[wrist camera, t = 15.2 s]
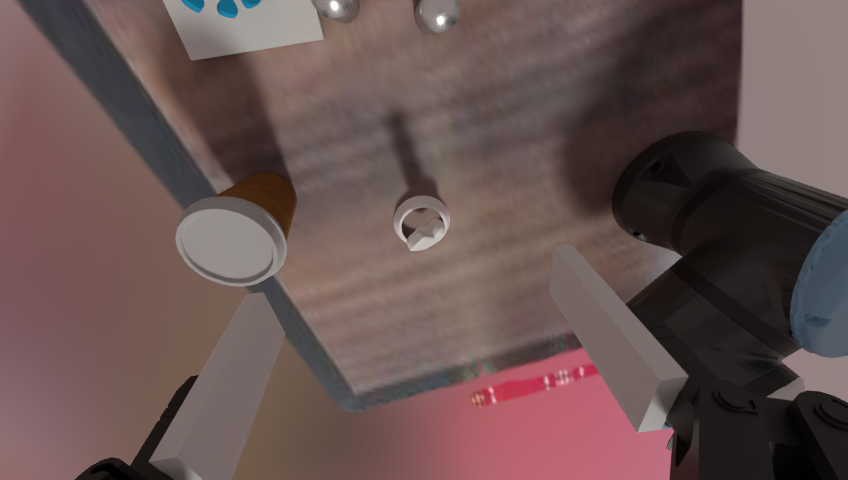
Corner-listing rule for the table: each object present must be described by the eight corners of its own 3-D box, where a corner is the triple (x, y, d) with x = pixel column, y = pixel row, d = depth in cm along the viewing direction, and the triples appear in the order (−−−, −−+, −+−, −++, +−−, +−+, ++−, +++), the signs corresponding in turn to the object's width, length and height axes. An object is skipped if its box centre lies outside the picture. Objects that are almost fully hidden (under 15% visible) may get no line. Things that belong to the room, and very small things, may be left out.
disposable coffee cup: (309, 233, 42) (284, 294, 32) (232, 224, 41) (180, 285, 30) (311, 166, 38) (281, 212, 27) (223, 151, 36) (158, 195, 26)
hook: (399, 170, 33) (449, 211, 32) (425, 187, 45) (463, 218, 44) (357, 225, 35) (403, 267, 33) (393, 228, 46) (429, 259, 45)
